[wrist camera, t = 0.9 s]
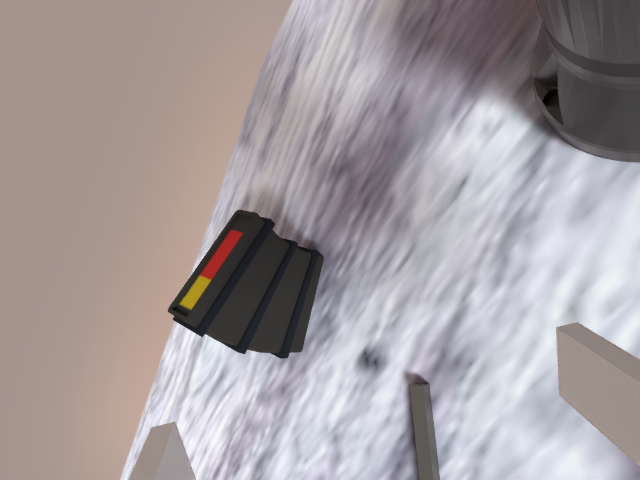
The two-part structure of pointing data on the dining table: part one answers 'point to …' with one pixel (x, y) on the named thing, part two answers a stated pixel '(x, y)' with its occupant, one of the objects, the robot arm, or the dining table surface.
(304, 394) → the dining table surface
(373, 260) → the dining table surface
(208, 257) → the magazine
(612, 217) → the dining table surface
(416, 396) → the power strip
